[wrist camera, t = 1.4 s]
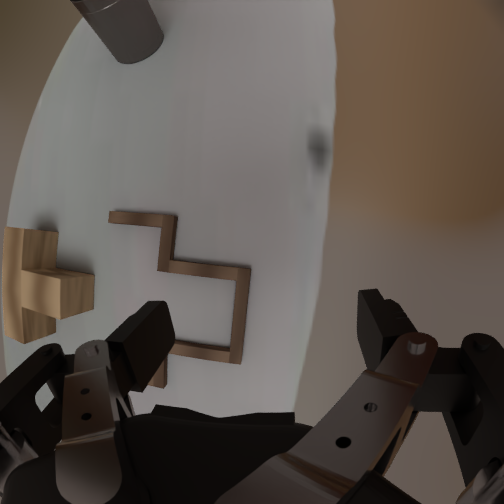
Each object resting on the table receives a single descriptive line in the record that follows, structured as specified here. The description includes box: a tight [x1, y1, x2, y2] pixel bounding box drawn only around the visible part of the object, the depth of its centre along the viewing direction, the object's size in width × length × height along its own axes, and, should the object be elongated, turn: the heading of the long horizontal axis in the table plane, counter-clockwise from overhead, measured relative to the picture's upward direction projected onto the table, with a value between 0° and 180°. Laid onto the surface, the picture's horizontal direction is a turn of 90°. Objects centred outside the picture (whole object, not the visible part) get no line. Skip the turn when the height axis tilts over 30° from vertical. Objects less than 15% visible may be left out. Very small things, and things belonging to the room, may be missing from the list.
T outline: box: [108, 211, 251, 389], centre depth 35 cm, size 20×23×2 cm
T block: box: [2, 227, 94, 344], centre depth 33 cm, size 13×16×8 cm
